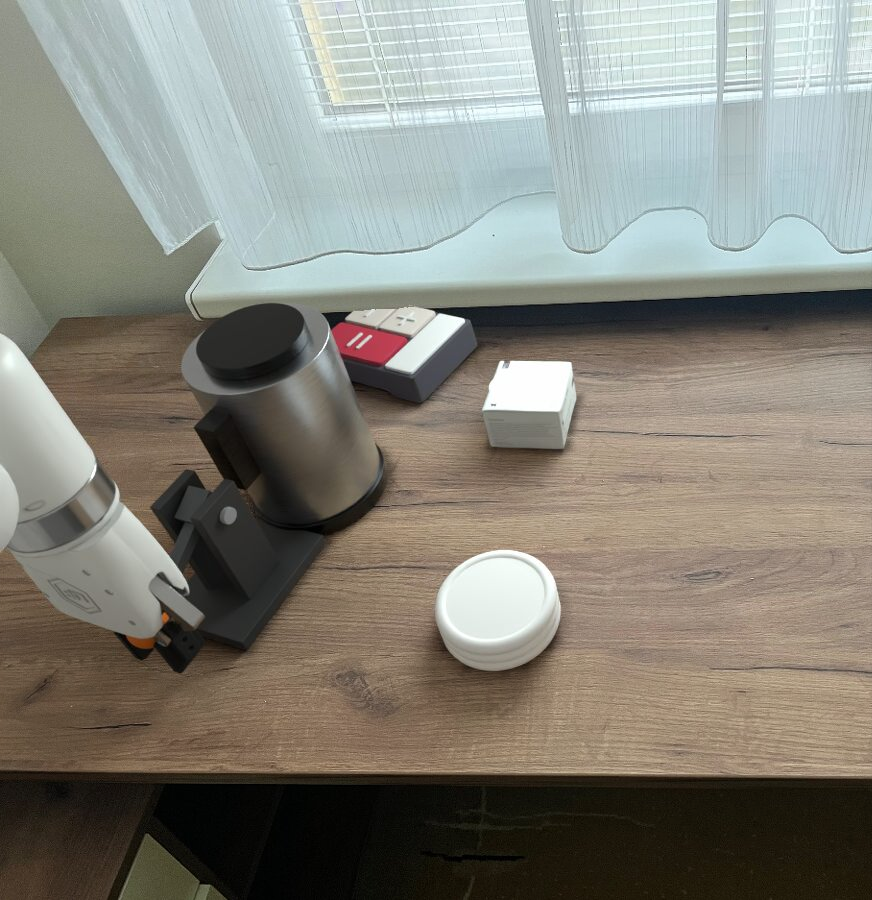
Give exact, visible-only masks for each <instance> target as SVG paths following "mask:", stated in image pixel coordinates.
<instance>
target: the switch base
mask: <svg viewBox="0 0 872 900" xmlns="http://www.w3.org/2000/svg"><path fill="white" fill-rule="evenodd" d="M188 486H193V487H197V488H201V489H205V490H207V488H206V486H205V485H204V483H203V481H202V480H201V478H200V477H199V475H198V474H197V472H196V471H195V470H191V469H187V468H186V469H184V470H183V471H182V472H181V473H180V474H179V476H178V477H176V479H175V480H174V481H173V482H172V483H171V484H170V485H169V486H168V487H167V488H166V489H165V490H164V491H163V493H161V495H159V496H158V497H157V499H156V500H155V501H154V502H153V503H152V504H151V505H150V506H149V509H150V510H151V511H152V513H153V514H154V516H155V517H156V519H157V520H158V521H159V523H160V524H161V526H162V527H163V529H164V530H165V532H166V533H167V534H168V536H169V537H170V538H171V540H172V541H173V543H174V544H175V543H176V541H177V539H178V536H179V534H180V532H181V530H182V528H183V525H184V523H185V522H183V521H181V520H179V519H176V518H175V515H176V512H177V510H178V508H179V506H180V504H181V501H182V499H183V497H184V495H185V493H186V490H187V488H188ZM211 492H212V493H211V494H210V495H209V496H208V498H207V499H206V500H205V501H204V502H203V503H202V504H201V505H200V506H199V508H198V509H197V510H196V511H195V512H194V513H193V514H192V515H191V517H190V520H191V521H192V523H193V524H194V526H195V527H196V529H197V530H198V532H199V533H200V536H199V539H198V541H197V543H196V545H195V548H194V550H193V552H192V554H191V557H190V559H189V561H188V565H189V566H190V568H191V569H192V570H193V572H194V573H193V574H192V575H191V577H190V578H189V579H188V580H187V581H186V582H187V584H188V587H189V595H188V596H183V597H184V598H185V599H186V600H187V601H189V602H190V603H191V604H192V605H193V606H195V607H196V608H197V609H198V610H199V611H201V612H202V613H203V614H204V615H205V618H204V620H203V621H202V622H201V623H200V625H199V626H198V627H197V628H196V629H197V630H198V632H199V633H200V634H201V636H202V637H203V638H206V639H210V640H213V641H216V642H219V643H222V644H226V645H229V646H231V647H235V648H238V649H241V650H243V651H248V650H249V649H250V648H251V646H252V645H253V643H254V642H255V641H256V639H257V638H258V637H259V636H260V634H261V633H262V631H263V630H264V628H265V627H266V626H267V624H268V623H269V622H270V620H271V619H272V618H273V617H274V615H275V614H276V612H277V611H278V609H279V608H280V607H281V605H282V604H283V603H284V601H286V598H287V597H288V596H289V595H290V593H291V592H292V591H293V590H294V588H295V587H296V585H297V584H298V582H299V581H300V580H301V579H302V577H303V576H304V574H305V573H306V571H307V570H308V569H309V568H310V566H311V565H312V564H313V562H314V561H315V560H316V558H317V557H318V556H319V554H320V553H321V551H322V550H323V549H324V547H325V546H326V544H327V541H326V540H325V537H324V535H320V534H316V533H312V532H308V531H305V530H286V529H281V528H277V527H274V526H272V525H270V524H268V523H266V522H265V521H263V520H262V519H259V517H255V515H254V514H253V512H252V511H251V509H250V507H249V505H248V503H247V502H246V500H245V498H244V496H243V495H242V493H241V491H240V489H238V488H237V486H236V484H235V482H234V481H232V480H228V479H222V481H221V482H220V483H219V484H218V485H217V486H216V488H214V490H213V491H211ZM166 614H167V615H168V617H169V618H170V617H171V616H170V615H169V614H168V613H167V612H166Z"/></svg>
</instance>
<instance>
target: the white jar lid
mask: <svg viewBox="0 0 872 900" xmlns="http://www.w3.org/2000/svg"><path fill="white" fill-rule="evenodd" d="M561 606H562V605H561V602H560V596H559V592H558V588H557V583H556V580H555V577H554V575H553V574H552V573H551V571H550V570H549V569H548V567H547V566H546V565H545V564H544V563H543V562H542V561H541V560H539V559H538V558H536V557H534V556H532V555H530V554H528V553H525V552H521V551H517V550H511V549H499V550H491V551H487V552H483V553H480V554H477V555H475V556H473V557H470V558H468V559H467V560H465V561H463V562H461V563H460V564H459V565H458V566H457V567H455V568H454V569H453V570H452V571H451V572H450V573H449V574H448V575H447V576H446V578H445V579H444V580H443V582H442V584H441V585H440V587H439V589H438V592H437V595H436V597H435V602H434V621H435V623H436V626H437V628H438V630H439V635H441V638H442V642H443V643H444V645H445V648H446V649H447V651H448V652H449V653H450V654H451V655H452V656H453V657H454V658H455V659H457V660H458V661H459V662H460V663H462V664H463V665H465V666H468V667H470V668H473V669H475V670H480V671H487V672H499V671H506V670H511V669H515V668H517V667H520V666H523V665H525V664H527V663H528V662H530V661H532V660H534V659H535V658H536V657H537V656H538V655H540V654H541V653H542V652H543V651H544V650H545V649H546V648H548V646H549V645H550V643H551V642H552V641H553V639H554V637H555V635H556V633H557V630H558V628H559V625H560V621H561V615H562V614H561V613H562V607H561Z"/></svg>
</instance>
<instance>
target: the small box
mask: <svg viewBox="0 0 872 900" xmlns="http://www.w3.org/2000/svg"><path fill="white" fill-rule="evenodd" d="M576 402H577V392H576V385H575V378H574V372H573V365H572V362H569V361H533V360H532V361H531V360H530V361H526V360H499V362H498V364H497V366H496V370H495V372H494V375H493V379H492V380H491V381H490V383H489V384H488V392H487V395H486V398H485V401H484V403H483V407H482V409H481V414H482V417H483V422H484V426H485V429H486V433H487V437H488V441H489V446H491V447H492V448H513V449H544V450H545V449H546V450H563V449H565V446H566V442H567V437H568V434H569V428H570V424H571V420H572V417H573V412H574V409H575V405H576Z"/></svg>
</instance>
